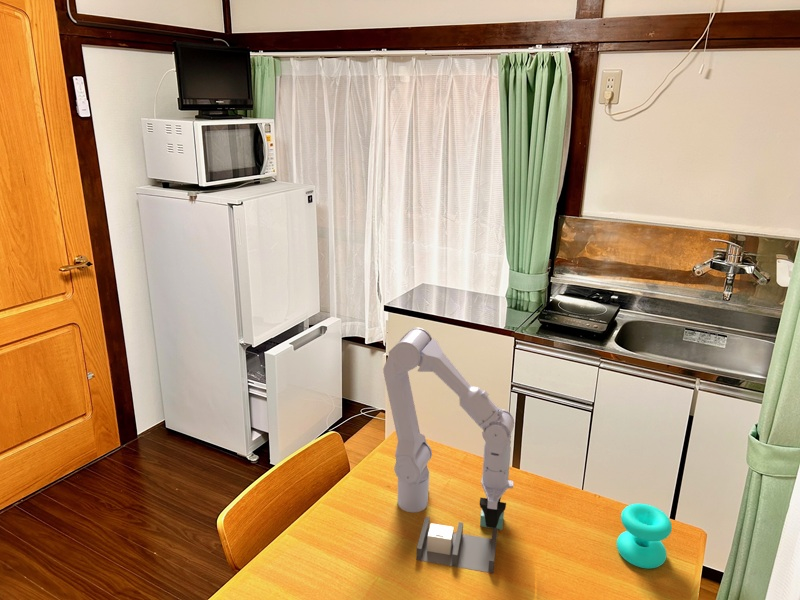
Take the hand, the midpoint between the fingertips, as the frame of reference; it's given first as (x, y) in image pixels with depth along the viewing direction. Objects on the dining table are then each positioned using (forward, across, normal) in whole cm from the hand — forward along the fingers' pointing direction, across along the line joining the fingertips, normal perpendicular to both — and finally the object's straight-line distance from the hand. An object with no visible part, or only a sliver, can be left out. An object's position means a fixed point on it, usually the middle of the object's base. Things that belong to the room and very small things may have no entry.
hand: (492, 515), depth 136 cm
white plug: (+2, -10, +10) cm, 15 cm away
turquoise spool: (+3, -2, -32) cm, 32 cm away
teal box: (+3, 0, 0) cm, 3 cm away
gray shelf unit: (+3, -10, +7) cm, 13 cm away
